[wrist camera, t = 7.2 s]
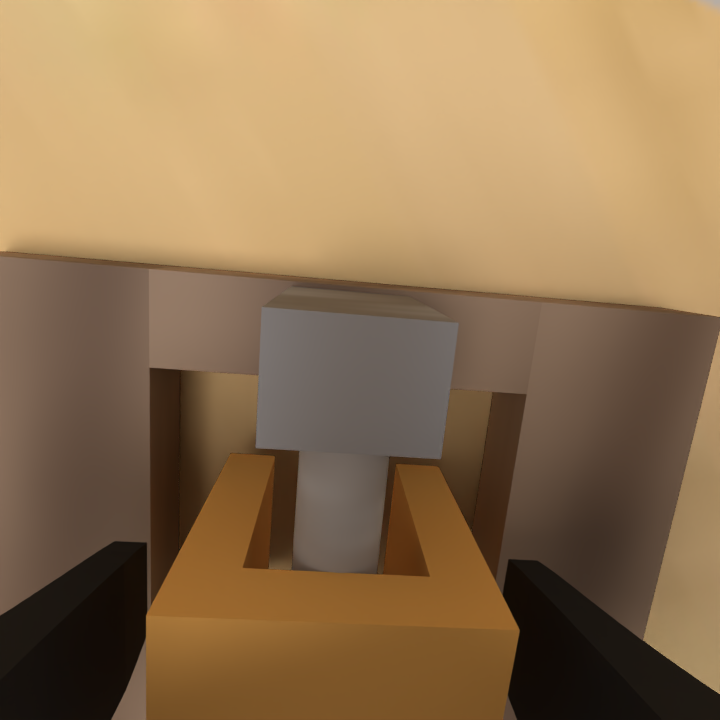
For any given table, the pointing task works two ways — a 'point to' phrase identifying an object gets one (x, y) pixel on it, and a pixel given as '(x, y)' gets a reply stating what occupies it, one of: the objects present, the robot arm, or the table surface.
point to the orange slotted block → (328, 617)
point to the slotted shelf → (196, 319)
